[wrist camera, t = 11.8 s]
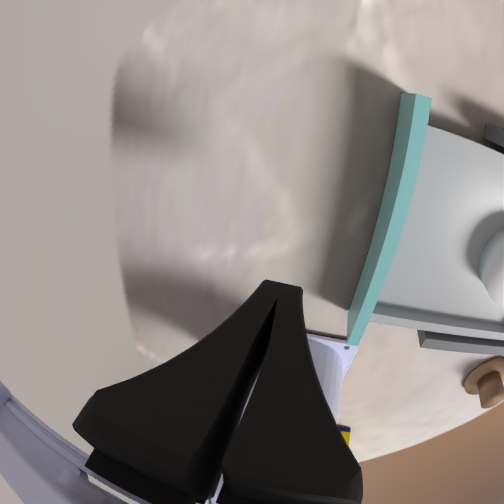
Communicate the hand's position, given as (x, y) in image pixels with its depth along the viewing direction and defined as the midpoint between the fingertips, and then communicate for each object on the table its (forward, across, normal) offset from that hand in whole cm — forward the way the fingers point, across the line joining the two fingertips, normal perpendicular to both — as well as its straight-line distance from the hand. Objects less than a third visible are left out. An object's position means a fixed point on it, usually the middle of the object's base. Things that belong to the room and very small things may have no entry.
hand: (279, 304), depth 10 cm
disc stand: (+9, -24, +14) cm, 29 cm away
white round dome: (+8, -15, 0) cm, 17 cm away
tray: (+9, -11, 0) cm, 15 cm away
